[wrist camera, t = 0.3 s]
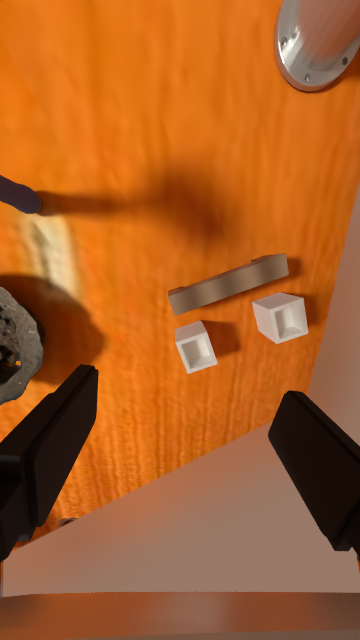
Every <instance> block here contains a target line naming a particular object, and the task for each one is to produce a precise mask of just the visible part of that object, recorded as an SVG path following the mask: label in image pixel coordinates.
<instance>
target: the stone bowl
mask: <svg viewBox="0 0 360 640" xmlns="http://www.w3.org/2000/svg"><path fill="white" fill-rule="evenodd" d="M44 338H45V332H44V328H43V326H42V324H41V322H40V321H39V320H38V319H37V318H36V317H35V315H34V314H33V313H32V312H31V311H30V310H29V309H27V308H26V307H24V306H22V305H21V304H19V303H17V302H16V300H15V299H14V298H13V297H12V295H11V294H10V293H9V292H8V291H7V290H5V289H4V288H3V287H0V405H2V404H3V403H5V402H9V401H11V400H16V399H18V398H19V397H21V396H22V394H23V393H24V391H25V389H26V386H27V384H28V382H29V380H30V378H31V377H32V376H33V375H34V374H35V373H36V372H37V371H38V370H39V369H40V367H41V365H42V360H43V341H44ZM16 361H20V362H21V365H20V366H17V365H15V364H16ZM6 363H11V364H13V367H8V366H7V365H6Z"/></svg>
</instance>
